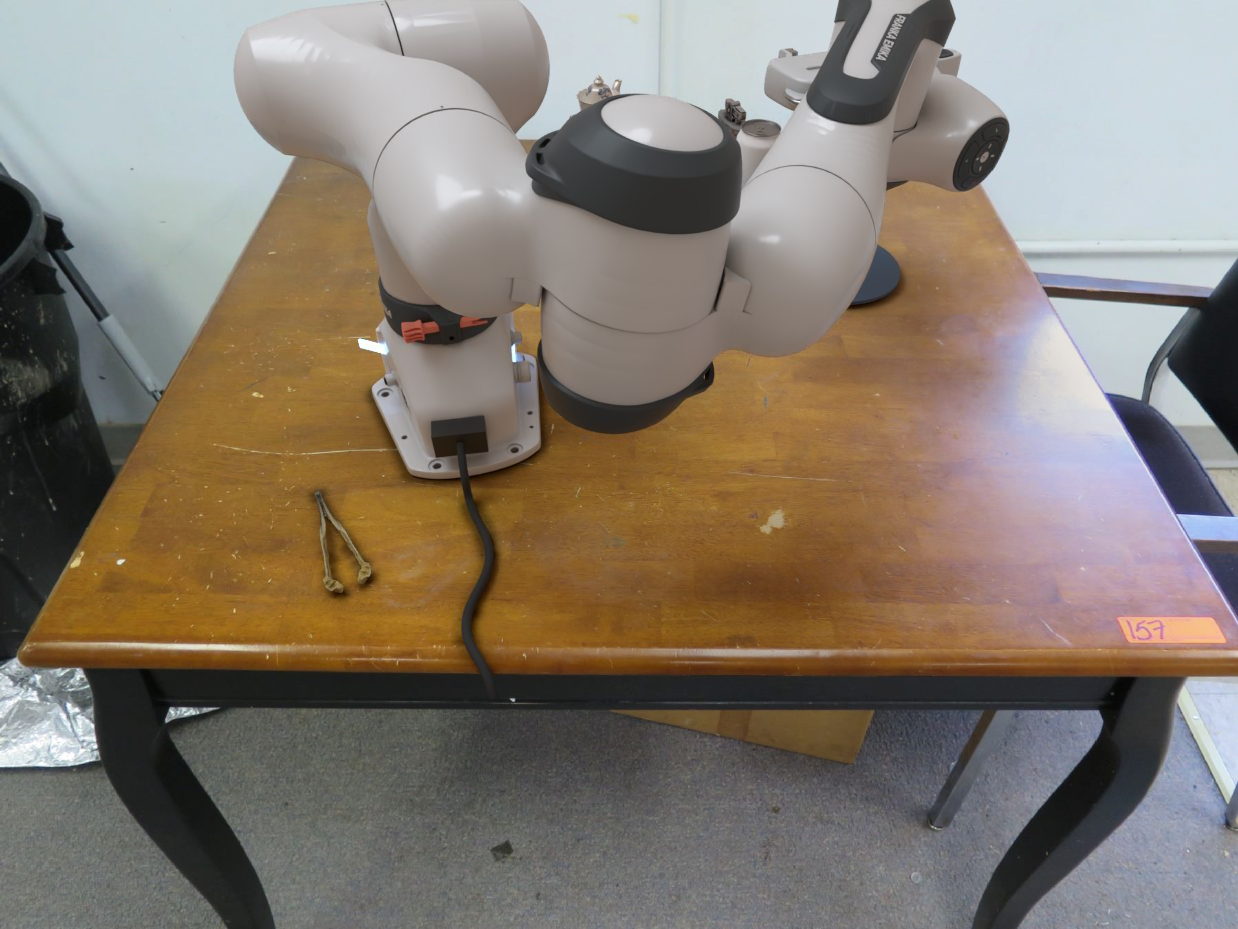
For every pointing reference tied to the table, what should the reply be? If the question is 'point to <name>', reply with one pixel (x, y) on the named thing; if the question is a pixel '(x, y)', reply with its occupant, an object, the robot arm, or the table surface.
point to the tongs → (328, 581)
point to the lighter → (732, 116)
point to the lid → (879, 278)
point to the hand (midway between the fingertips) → (819, 50)
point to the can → (755, 143)
